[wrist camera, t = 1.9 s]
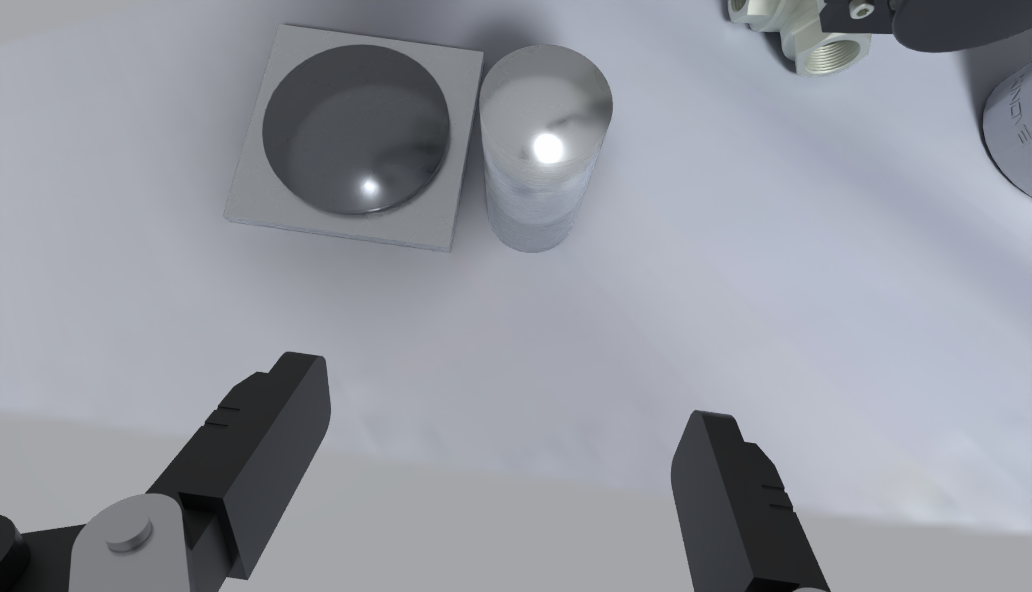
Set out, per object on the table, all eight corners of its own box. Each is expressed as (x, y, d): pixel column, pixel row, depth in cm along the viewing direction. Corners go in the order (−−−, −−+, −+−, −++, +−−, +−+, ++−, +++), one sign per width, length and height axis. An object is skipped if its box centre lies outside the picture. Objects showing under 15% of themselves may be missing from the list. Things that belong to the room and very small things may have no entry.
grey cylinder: (579, 177, 28) (618, 53, 19) (569, 258, 27) (606, 171, 18) (494, 166, 28) (490, 36, 19) (481, 246, 27) (469, 152, 18)
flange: (484, 61, 30) (483, 44, 29) (450, 252, 27) (447, 243, 26) (284, 34, 30) (274, 15, 29) (230, 221, 27) (216, 211, 26)
